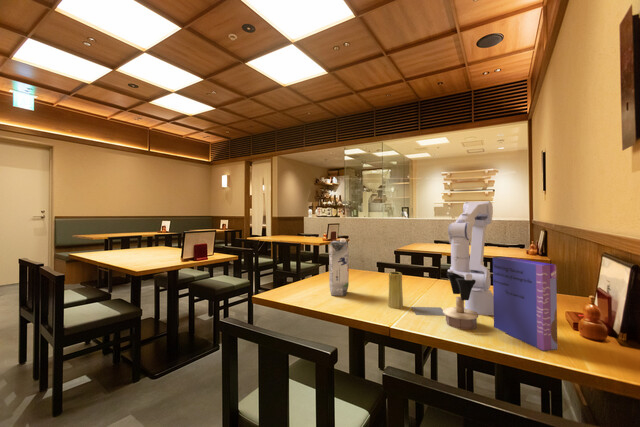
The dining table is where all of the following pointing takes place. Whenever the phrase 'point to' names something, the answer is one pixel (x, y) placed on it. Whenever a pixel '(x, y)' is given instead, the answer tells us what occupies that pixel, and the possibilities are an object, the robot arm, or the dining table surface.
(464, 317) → the lid
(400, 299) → the vase
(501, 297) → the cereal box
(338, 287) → the juice carton
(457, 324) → the bowl
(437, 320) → the dining table surface
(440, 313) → the mat
